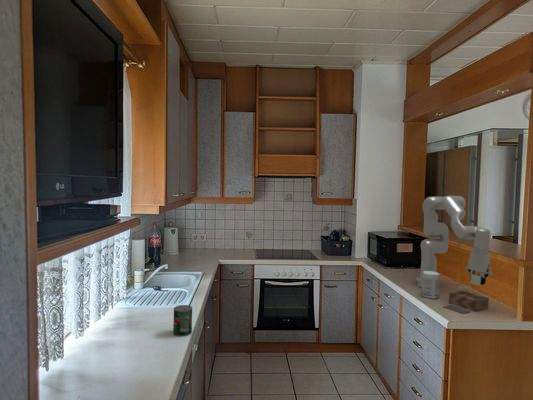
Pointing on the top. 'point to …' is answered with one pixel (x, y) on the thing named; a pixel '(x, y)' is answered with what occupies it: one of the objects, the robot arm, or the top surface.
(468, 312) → the mat
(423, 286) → the supplement tub
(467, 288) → the t bolt
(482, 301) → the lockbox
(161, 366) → the top surface
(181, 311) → the canned tomato
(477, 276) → the cover
